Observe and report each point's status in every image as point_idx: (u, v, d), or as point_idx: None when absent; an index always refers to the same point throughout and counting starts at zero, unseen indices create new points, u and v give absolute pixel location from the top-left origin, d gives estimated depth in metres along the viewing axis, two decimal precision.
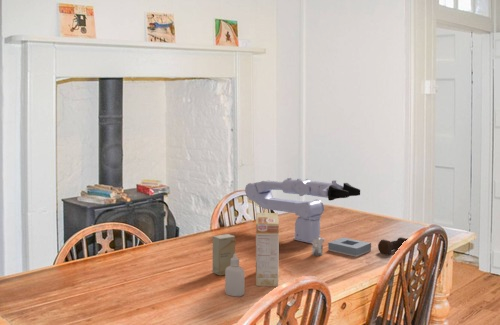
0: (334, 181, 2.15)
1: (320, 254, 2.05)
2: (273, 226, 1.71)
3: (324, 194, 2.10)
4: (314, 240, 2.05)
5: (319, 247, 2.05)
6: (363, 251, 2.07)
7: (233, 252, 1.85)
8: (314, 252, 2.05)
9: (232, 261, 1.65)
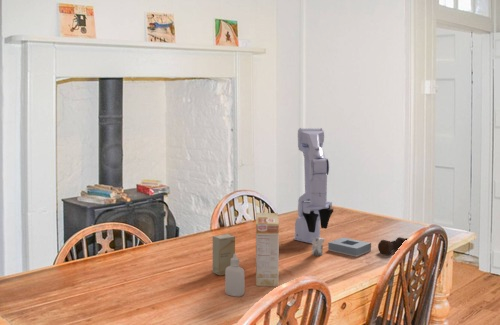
0: (326, 208, 2.02)
1: (320, 254, 2.05)
2: (273, 226, 1.71)
3: (305, 211, 1.99)
4: (314, 240, 2.05)
5: (319, 247, 2.05)
6: (363, 251, 2.07)
7: (233, 252, 1.85)
8: (314, 252, 2.05)
9: (232, 261, 1.65)
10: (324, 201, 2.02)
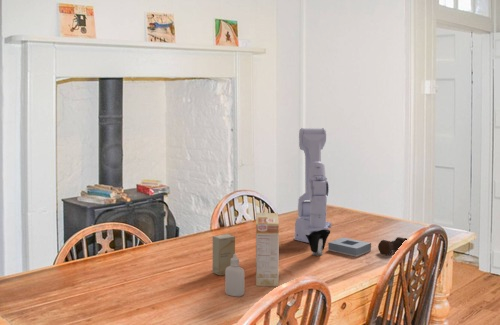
0: None
1: (320, 254, 2.05)
2: (273, 226, 1.71)
3: (304, 232, 2.00)
4: None
5: (319, 247, 2.05)
6: (363, 251, 2.07)
7: (233, 252, 1.85)
8: (314, 252, 2.05)
9: (232, 261, 1.65)
10: (324, 222, 2.03)
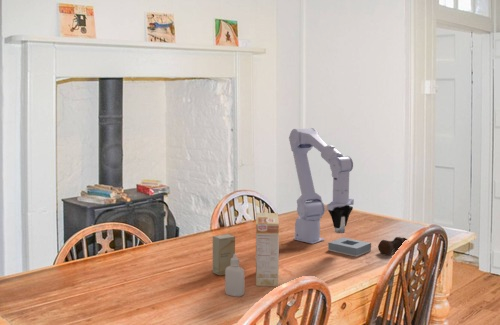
0: None
1: (343, 231, 2.08)
2: (273, 226, 1.71)
3: (327, 208, 2.03)
4: None
5: (342, 224, 2.07)
6: (363, 251, 2.07)
7: (233, 252, 1.85)
8: (337, 229, 2.08)
9: (232, 261, 1.65)
10: (346, 198, 2.05)
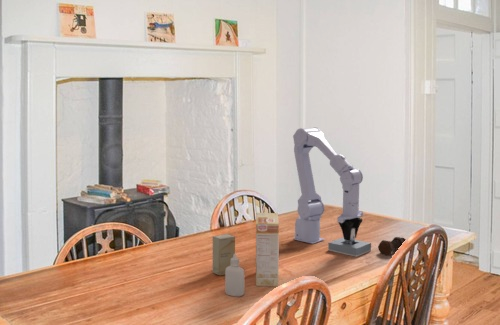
0: None
1: (353, 243, 2.10)
2: (273, 226, 1.71)
3: (338, 220, 2.05)
4: None
5: (352, 236, 2.09)
6: (363, 251, 2.07)
7: (233, 252, 1.85)
8: (347, 241, 2.10)
9: (232, 261, 1.65)
10: (356, 210, 2.08)
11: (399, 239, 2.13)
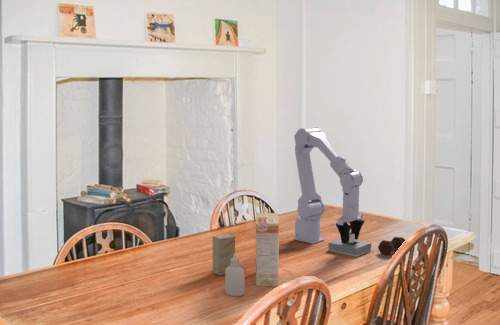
0: (358, 219, 2.08)
1: None
2: (273, 226, 1.71)
3: (338, 223, 2.05)
4: None
5: (352, 241, 2.10)
6: (363, 251, 2.07)
7: (233, 252, 1.85)
8: None
9: (232, 261, 1.65)
10: (356, 213, 2.08)
11: (398, 239, 2.13)
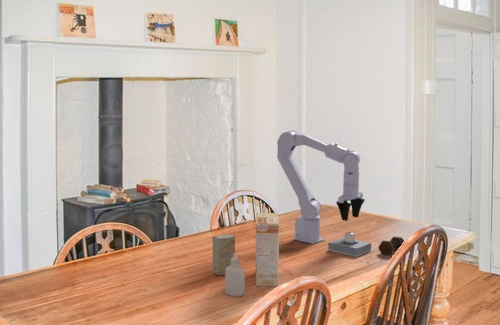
0: (358, 197, 2.16)
1: None
2: (273, 226, 1.71)
3: (339, 200, 2.13)
4: (347, 235, 2.09)
5: (352, 242, 2.10)
6: (363, 251, 2.07)
7: (233, 252, 1.85)
8: None
9: (232, 261, 1.65)
10: (356, 191, 2.16)
11: (397, 239, 2.13)
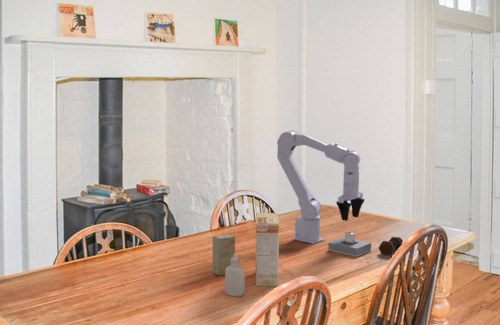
0: (358, 197, 2.16)
1: None
2: (273, 226, 1.71)
3: (339, 200, 2.13)
4: (348, 235, 2.10)
5: (352, 241, 2.10)
6: (363, 251, 2.07)
7: (233, 252, 1.85)
8: None
9: (232, 261, 1.65)
10: (356, 191, 2.16)
11: (397, 239, 2.13)
